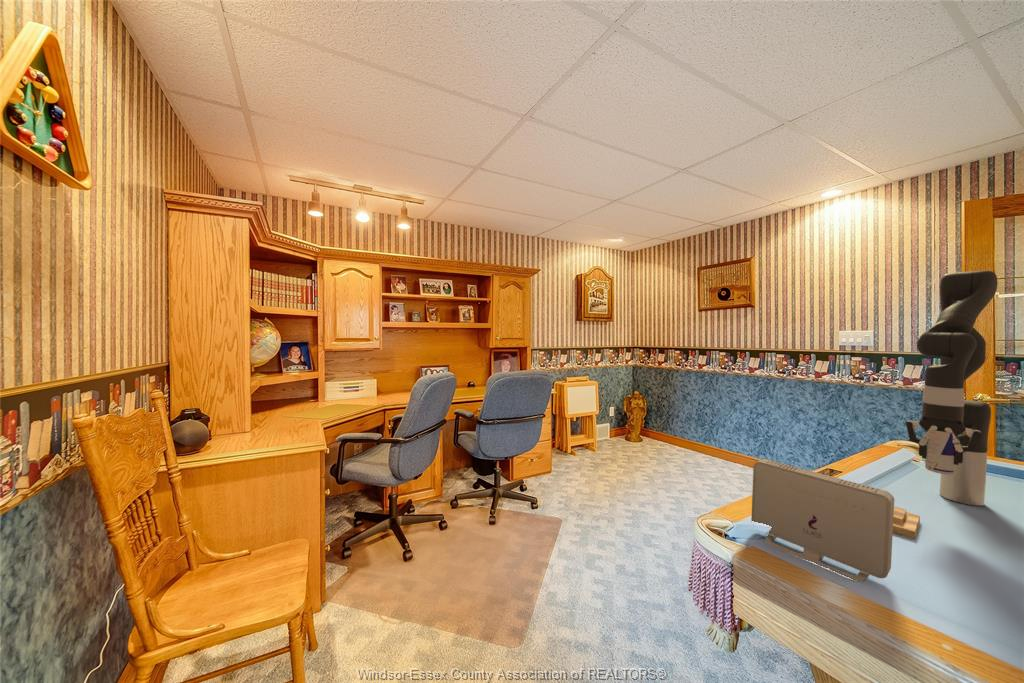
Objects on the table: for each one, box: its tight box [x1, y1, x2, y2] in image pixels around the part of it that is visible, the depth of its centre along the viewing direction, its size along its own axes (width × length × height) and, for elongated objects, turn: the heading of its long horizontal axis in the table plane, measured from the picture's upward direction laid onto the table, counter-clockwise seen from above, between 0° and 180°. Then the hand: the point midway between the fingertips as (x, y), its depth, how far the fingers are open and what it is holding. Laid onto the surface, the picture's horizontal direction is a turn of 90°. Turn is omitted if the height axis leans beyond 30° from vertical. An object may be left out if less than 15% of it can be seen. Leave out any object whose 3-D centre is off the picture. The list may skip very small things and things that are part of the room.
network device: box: [750, 458, 895, 582], centre depth 87 cm, size 26×9×20 cm, turn 36°
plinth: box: [893, 506, 921, 540], centre depth 104 cm, size 14×14×4 cm
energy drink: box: [924, 430, 956, 475], centre depth 102 cm, size 5×5×12 cm
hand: (939, 460), depth 102 cm, fingers closed on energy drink, 5 cm apart
